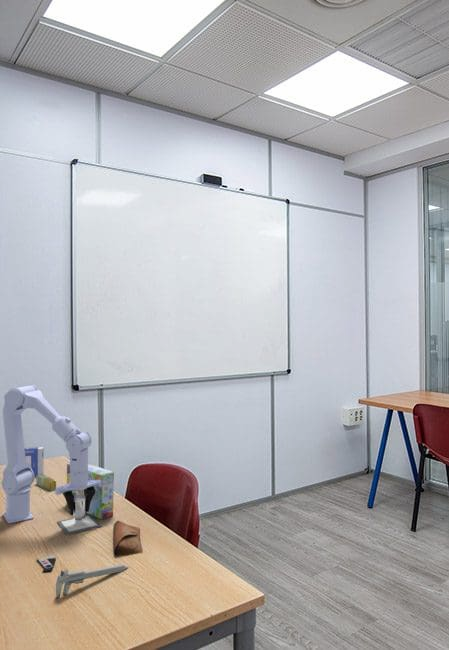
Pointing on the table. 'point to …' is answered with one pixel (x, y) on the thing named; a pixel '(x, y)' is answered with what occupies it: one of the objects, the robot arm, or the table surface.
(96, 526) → the mat
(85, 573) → the caliper
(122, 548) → the sunglasses case
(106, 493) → the snack box
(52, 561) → the usb flash drive
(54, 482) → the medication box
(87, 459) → the robot arm
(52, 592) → the table surface
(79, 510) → the milkshake
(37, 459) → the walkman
